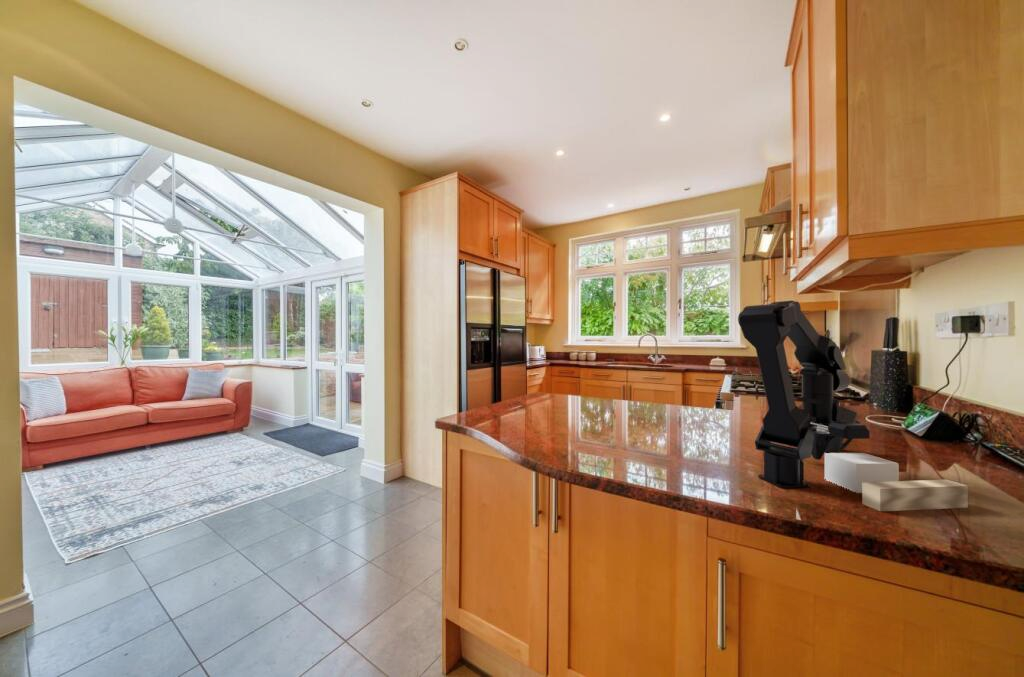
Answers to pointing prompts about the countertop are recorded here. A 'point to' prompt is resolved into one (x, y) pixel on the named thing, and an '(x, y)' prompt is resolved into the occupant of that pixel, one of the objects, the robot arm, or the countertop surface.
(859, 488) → the block
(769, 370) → the robot arm
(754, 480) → the countertop surface
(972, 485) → the countertop surface
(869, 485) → the board
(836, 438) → the mug
